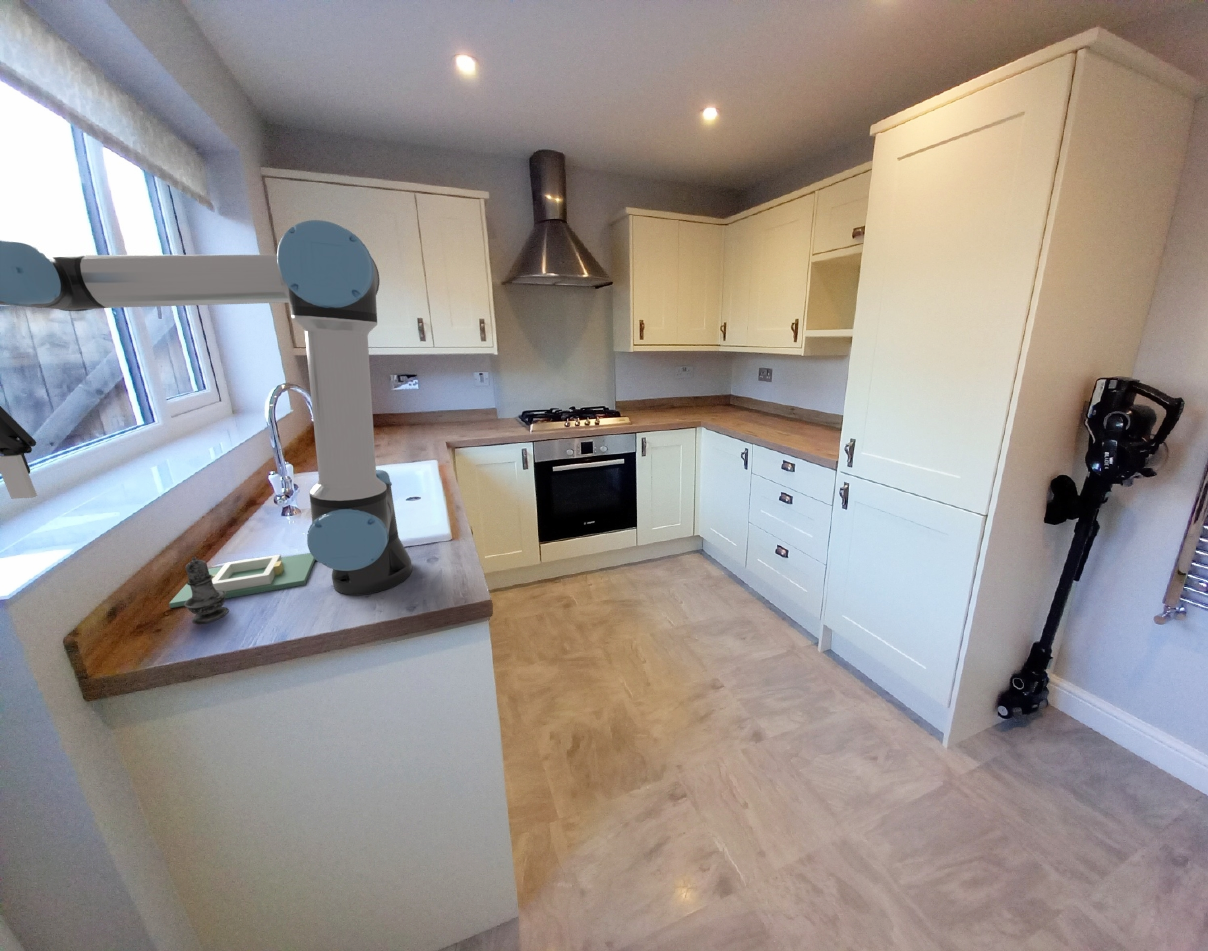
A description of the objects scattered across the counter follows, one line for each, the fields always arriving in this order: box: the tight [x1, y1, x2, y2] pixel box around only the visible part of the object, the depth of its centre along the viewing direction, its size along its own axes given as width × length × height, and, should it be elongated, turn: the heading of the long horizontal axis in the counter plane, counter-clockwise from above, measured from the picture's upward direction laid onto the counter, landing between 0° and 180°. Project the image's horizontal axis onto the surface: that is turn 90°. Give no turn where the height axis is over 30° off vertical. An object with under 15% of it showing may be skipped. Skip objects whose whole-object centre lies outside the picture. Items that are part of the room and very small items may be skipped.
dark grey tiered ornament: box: [183, 556, 230, 625], centre depth 83 cm, size 6×6×12 cm
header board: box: [168, 552, 317, 609], centre depth 97 cm, size 22×14×3 cm, turn 112°
